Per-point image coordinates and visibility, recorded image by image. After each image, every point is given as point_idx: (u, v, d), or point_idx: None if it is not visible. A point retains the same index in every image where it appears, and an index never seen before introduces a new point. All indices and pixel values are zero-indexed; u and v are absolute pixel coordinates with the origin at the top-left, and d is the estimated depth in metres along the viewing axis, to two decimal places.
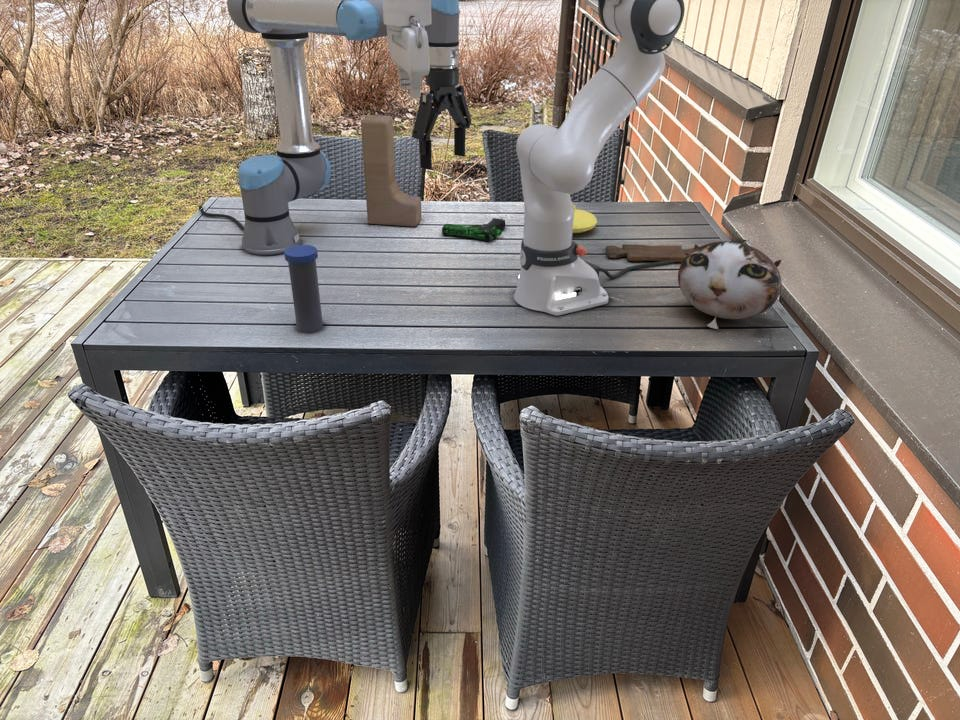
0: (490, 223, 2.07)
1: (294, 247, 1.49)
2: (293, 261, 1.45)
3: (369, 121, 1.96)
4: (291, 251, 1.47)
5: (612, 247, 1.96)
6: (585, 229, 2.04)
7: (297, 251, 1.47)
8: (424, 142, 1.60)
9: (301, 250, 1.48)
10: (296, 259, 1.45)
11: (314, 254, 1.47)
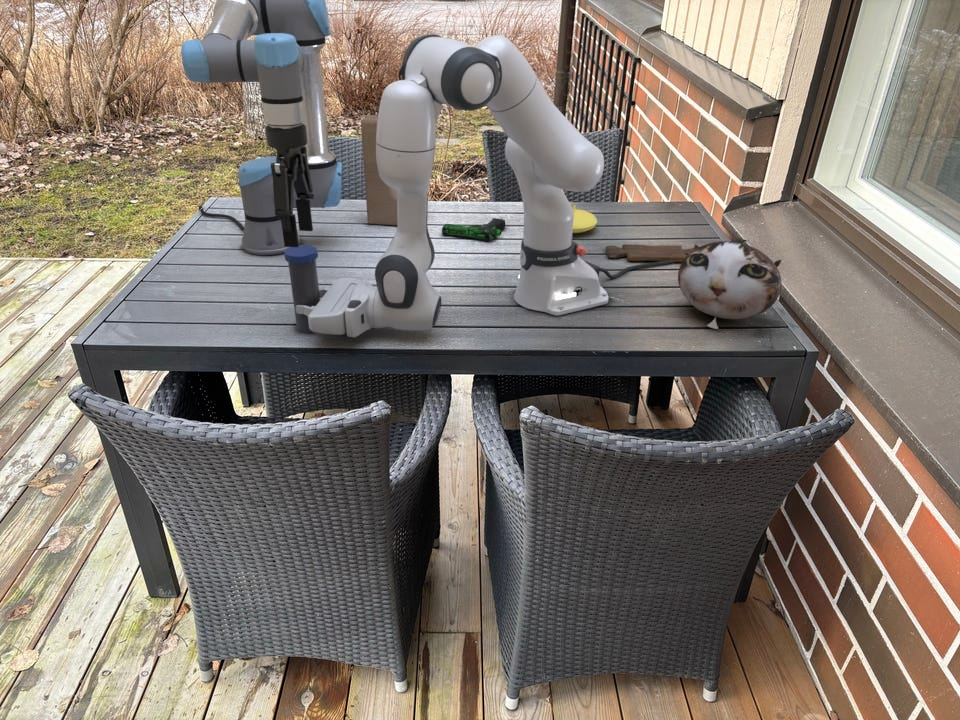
0: (490, 223, 2.07)
1: (294, 247, 1.49)
2: (293, 261, 1.45)
3: (369, 121, 1.96)
4: (291, 251, 1.47)
5: (612, 247, 1.96)
6: (585, 229, 2.04)
7: (297, 251, 1.47)
8: None
9: (301, 250, 1.48)
10: (296, 259, 1.45)
11: (314, 254, 1.47)
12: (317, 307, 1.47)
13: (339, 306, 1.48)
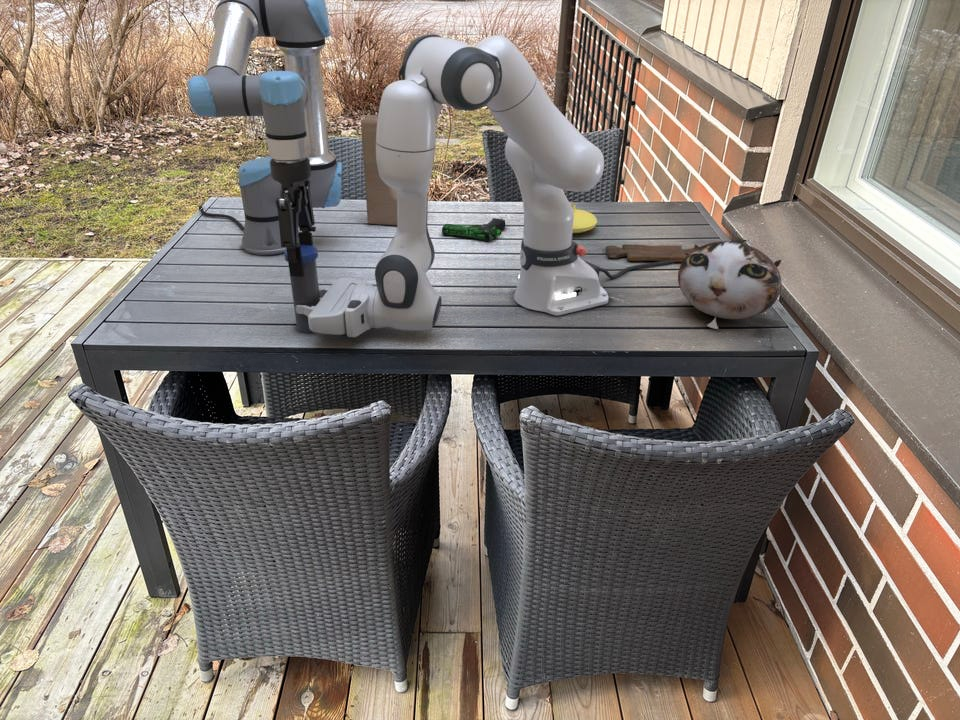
0: (490, 223, 2.07)
1: None
2: None
3: (369, 121, 1.96)
4: None
5: (612, 247, 1.96)
6: (585, 229, 2.04)
7: None
8: None
9: (301, 250, 1.48)
10: None
11: (314, 254, 1.47)
12: (317, 307, 1.47)
13: (339, 306, 1.48)
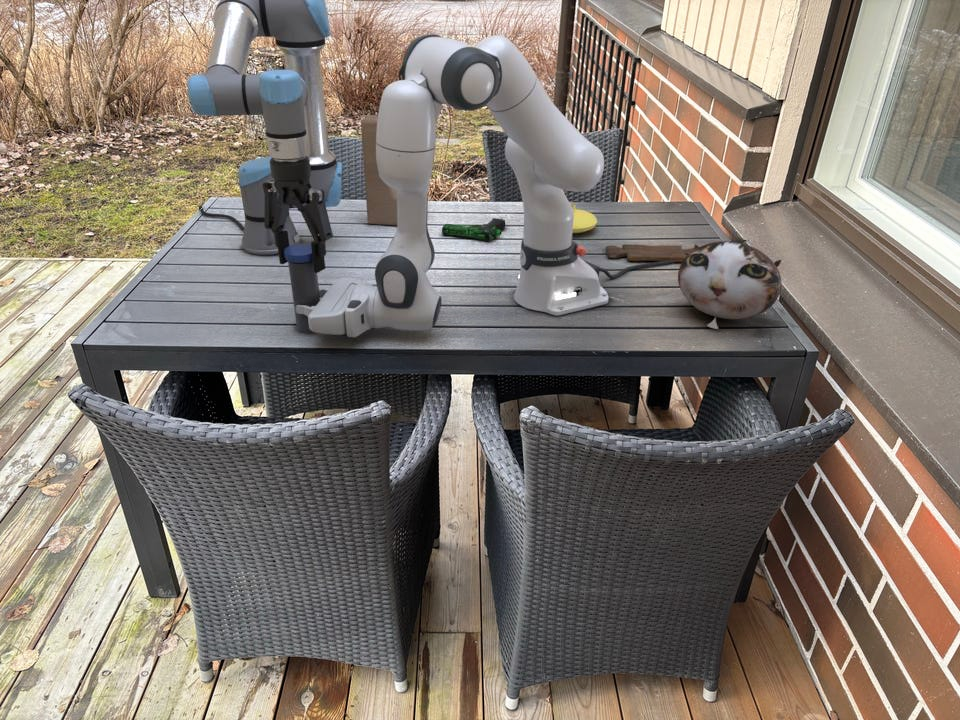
0: (490, 223, 2.07)
1: (293, 253, 1.46)
2: None
3: (369, 121, 1.96)
4: (304, 252, 1.46)
5: (612, 247, 1.96)
6: (585, 229, 2.04)
7: (303, 250, 1.47)
8: (275, 234, 1.48)
9: (300, 249, 1.47)
10: None
11: None
12: (317, 307, 1.47)
13: (339, 306, 1.48)
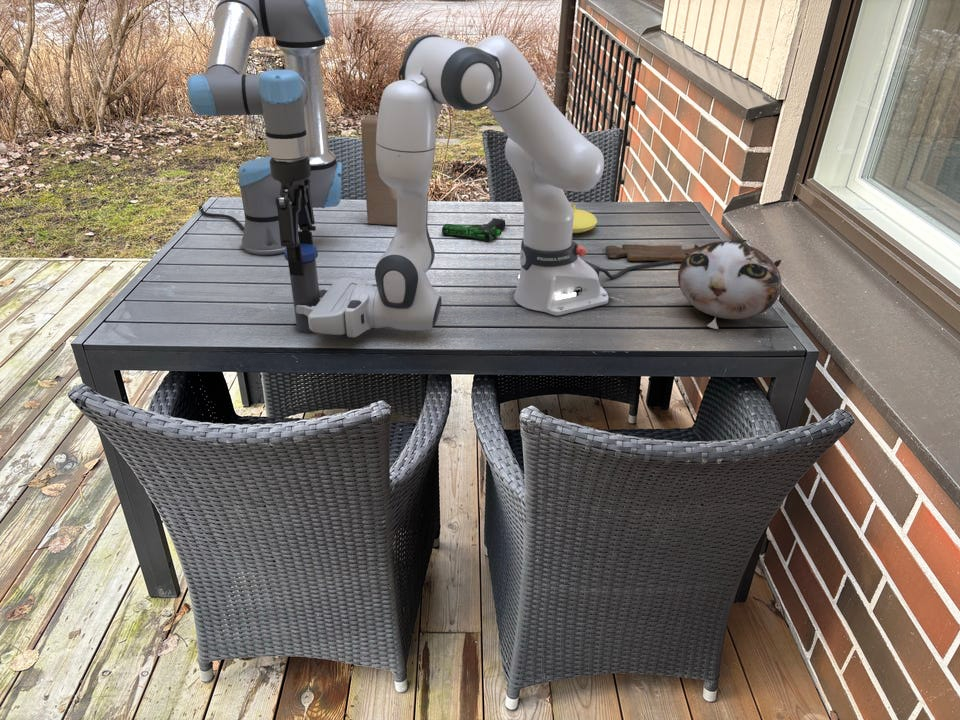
0: (490, 223, 2.07)
1: None
2: (317, 254, 1.48)
3: (369, 121, 1.96)
4: (304, 252, 1.46)
5: (612, 247, 1.96)
6: (585, 229, 2.04)
7: (303, 250, 1.47)
8: None
9: None
10: (317, 251, 1.48)
11: None
12: (317, 307, 1.47)
13: (339, 306, 1.48)
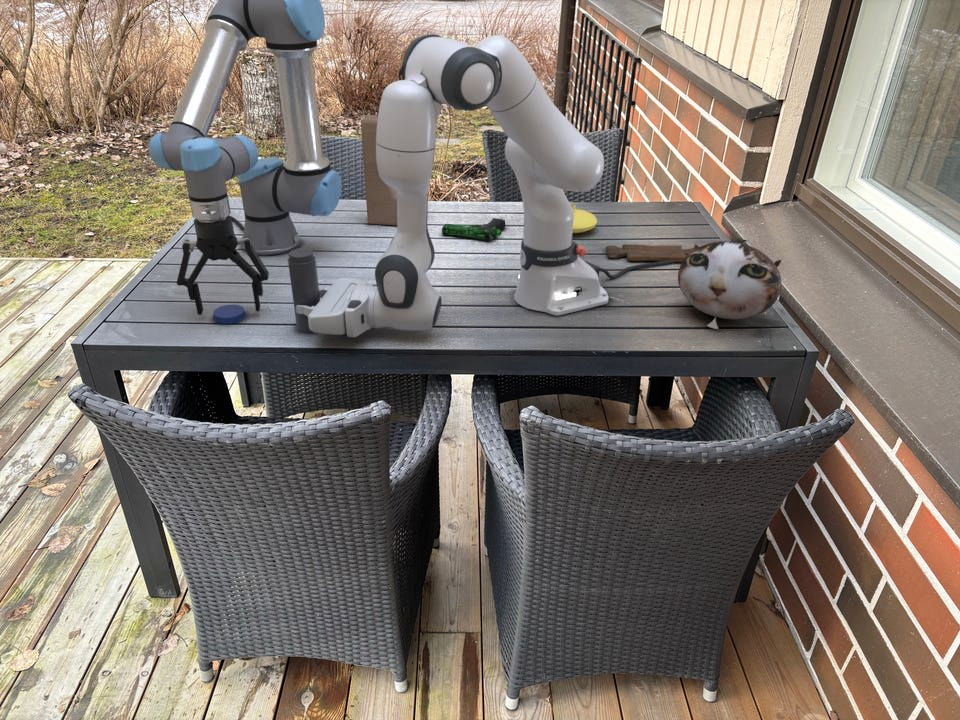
0: (490, 223, 2.07)
1: (238, 312, 1.59)
2: None
3: (369, 121, 1.96)
4: (235, 308, 1.60)
5: (612, 247, 1.96)
6: (585, 229, 2.04)
7: (230, 309, 1.60)
8: (188, 288, 1.55)
9: (228, 311, 1.59)
10: None
11: (213, 313, 1.59)
12: (317, 307, 1.47)
13: (339, 306, 1.48)
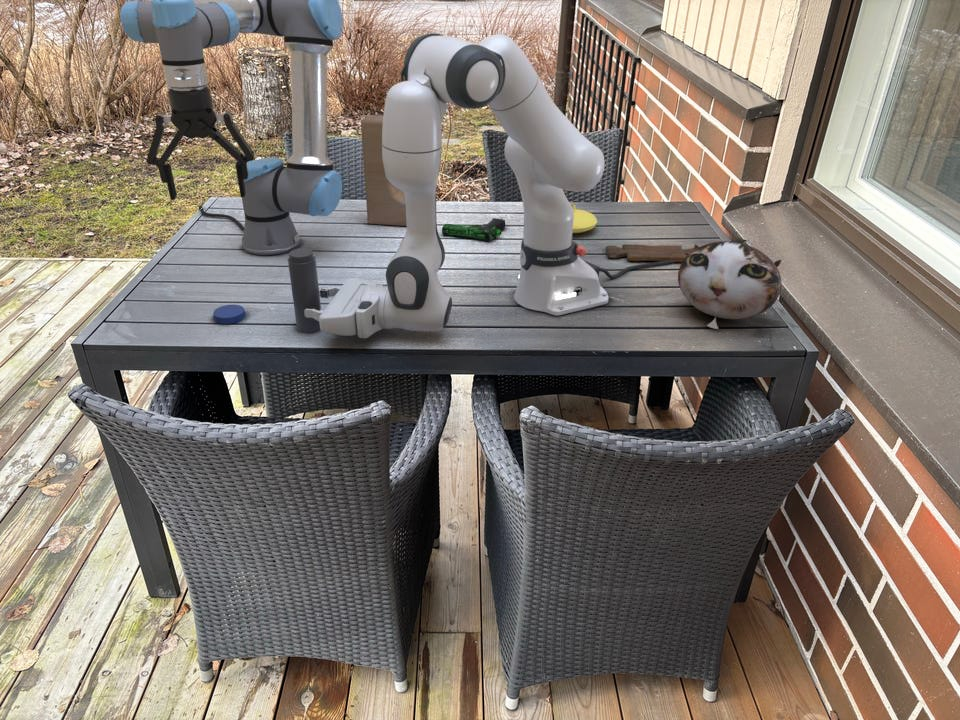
0: (490, 223, 2.07)
1: (238, 312, 1.59)
2: None
3: (369, 121, 1.96)
4: (235, 308, 1.60)
5: (612, 247, 1.96)
6: (585, 229, 2.04)
7: (230, 309, 1.60)
8: (160, 168, 1.41)
9: (228, 311, 1.59)
10: None
11: (213, 313, 1.59)
12: (328, 308, 1.47)
13: (350, 307, 1.48)
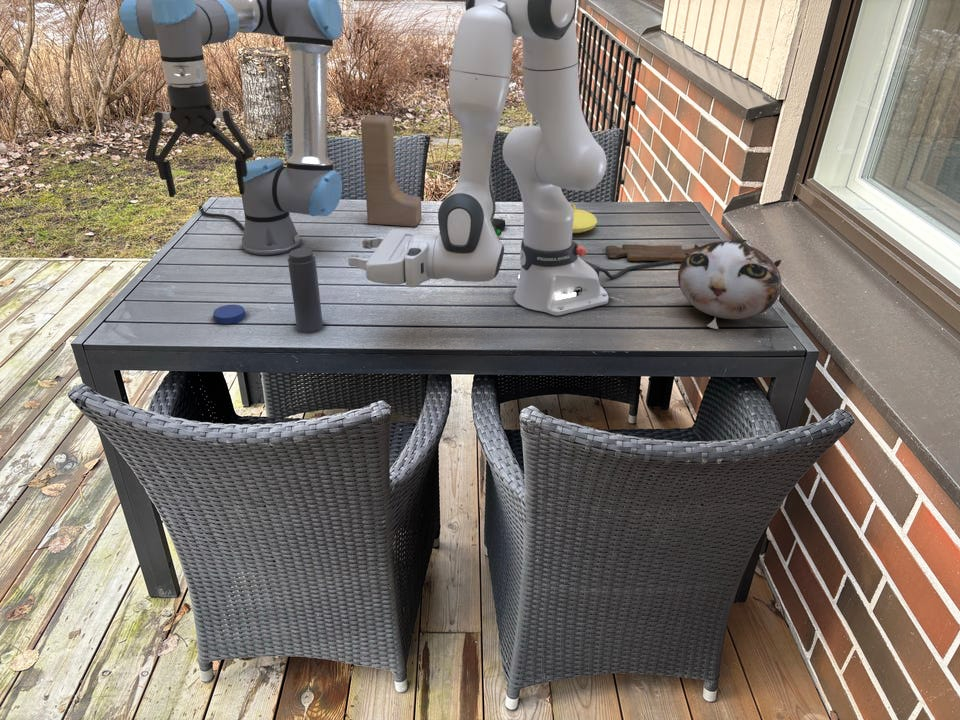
0: None
1: (238, 312, 1.59)
2: None
3: (369, 121, 1.96)
4: (235, 308, 1.60)
5: (612, 247, 1.96)
6: (585, 229, 2.04)
7: (230, 309, 1.60)
8: (158, 165, 1.41)
9: (228, 311, 1.59)
10: None
11: (213, 313, 1.59)
12: (374, 256, 1.39)
13: (397, 255, 1.40)
